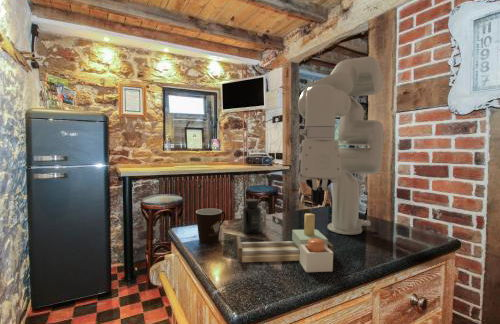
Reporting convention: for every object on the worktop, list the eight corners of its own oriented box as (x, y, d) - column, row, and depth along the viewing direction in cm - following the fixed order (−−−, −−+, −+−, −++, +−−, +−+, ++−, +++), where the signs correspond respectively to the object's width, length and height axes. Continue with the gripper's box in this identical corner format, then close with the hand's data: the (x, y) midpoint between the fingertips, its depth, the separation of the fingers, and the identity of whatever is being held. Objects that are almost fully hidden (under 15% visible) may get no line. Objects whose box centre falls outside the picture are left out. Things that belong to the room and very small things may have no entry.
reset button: (320, 248, 76) (321, 238, 75) (326, 255, 71) (326, 243, 71) (305, 249, 75) (306, 238, 75) (310, 255, 71) (311, 244, 71)
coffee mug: (200, 247, 86) (200, 215, 85) (192, 238, 94) (192, 209, 93) (234, 241, 91) (234, 212, 91) (224, 233, 99) (224, 206, 98)
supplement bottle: (261, 229, 105) (262, 198, 104) (260, 235, 98) (260, 202, 97) (243, 228, 106) (244, 197, 105) (241, 234, 99) (241, 201, 98)
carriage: (316, 238, 87) (317, 210, 87) (327, 249, 78) (328, 218, 78) (292, 239, 86) (292, 211, 86) (300, 250, 78) (300, 218, 77)
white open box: (323, 261, 77) (324, 243, 77) (332, 271, 71) (333, 252, 71) (299, 262, 76) (300, 244, 76) (306, 272, 70) (306, 253, 70)
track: (320, 246, 88) (320, 234, 88) (332, 259, 78) (333, 245, 78) (236, 248, 85) (236, 235, 85) (238, 262, 75) (238, 248, 75)
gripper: (295, 133, 67) (293, 207, 68) (354, 134, 68) (351, 207, 69) (287, 134, 74) (286, 201, 75) (341, 135, 76) (338, 201, 77)
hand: (317, 204), depth 72 cm, fingers closed
